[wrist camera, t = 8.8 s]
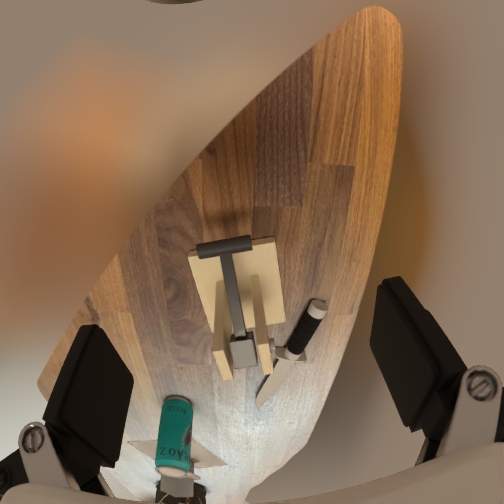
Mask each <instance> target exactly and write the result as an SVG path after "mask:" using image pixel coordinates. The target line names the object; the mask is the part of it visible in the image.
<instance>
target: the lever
mask: <svg viewBox="0 0 504 504" xmlns="http://www.w3.org/2000/svg"><path fill="white" fill-rule="evenodd" d="M196 249H197V255H198V258H199V259H206V258H212V257H217V256H220V262H221V267H222V273H223V278H224V283H225V289H226V294H227V299H228V305H229V310H230V315H231V320H232V325H233V330H234V334H232V335H231V337H230V341H229V345H230V350H231V355H232V359H233V364H234V368H235V369H237V368H244V367H251V366H257V351H256V346H255V341H254V335H253V331H251V332H247V331H246V326H245V321H244V316H243V310H242V305H241V299H240V294H239V289H238V283H237V278H236V272H235V267H234V261H233V255H232V254H234V253H240V252H246V251H252V250H253V248H252V242H251V237H250V235H246V236H240V237H234V238H229V239H223V240H218V241H212V242H207V243H201V244H197V246H196Z"/></svg>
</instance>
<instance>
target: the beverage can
mask: <svg viewBox="0 0 504 504" xmlns="http://www.w3.org/2000/svg"><path fill="white" fill-rule="evenodd" d="M192 420H193V410H192V407H191V404H190V402H189V401H188V400H187V399H185V398H182V397H177V396H174V397H170V398H168V399H167V400H166V401H165V403H164V404H163V406H162V411H161V418H160V425H159V433H158V440H157V448H156V456H155V465H156V472H157V473H159V474H161V475H164V476H167V477H173V478H183V477H186V476H187V475H188V473H187V472H188V470H189V469H190V455H191V437H192Z"/></svg>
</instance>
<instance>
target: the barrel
mask: <svg viewBox="0 0 504 504" xmlns="http://www.w3.org/2000/svg"><path fill="white" fill-rule="evenodd" d="M160 485H161V481H160V482H159V484H158V485H157V486H156V488H157V491H156V499H155V503H157V504H206V498H205V496H206V493H207V492H206V490H204V488H203V486H201V485H199V484H196V483H194V485H193V497H174V496H172V495H170V494H168V493H166V492H163V491H161V490H160Z"/></svg>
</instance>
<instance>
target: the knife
mask: <svg viewBox="0 0 504 504" xmlns="http://www.w3.org/2000/svg"><path fill="white" fill-rule="evenodd" d="M327 310H328V306H327V305H326V304H325V303H324V302H322V301H320V300H316V299H315V300H312V302H311V304H310V305H309V307H308V309H307V311H306V313H305V315H304V317H303V318H302V320H301V322H300V324H299V326H298V328H297V329H296V331H295V333H294V335H293V336H292V338H291V340H290V342H289V343H288V345H287V347H286V348H283V347H277V348H275V350H276V352H275V355H276V358H278V362H277V364H276V366H275V367H274V373H272V374H270V376H269V377H268V379H267V381H266V382H265V384H264V385H263V387H262V389H261V390H260V392H259V394H258V396H257V398H256V405H257V409H258V410H259V409H260V408H261V407H262V405H263V404H264V403H265V402H266V401H267V400H268V399H269V398H270V397H271V396H272V395H273V394H274V393H276V392H277V391H278V389H279V387H280V386H281V384H282V383H283V381H284V380H285V378H286V377H287V375H288V373H289V372H290V370H291V369H292V367H293V366H294V364H295V363H296V362H297V363H304V362H306V361H307V357H306V354H305V352H303V350H304V349H305V347H306V346H307V344H308V342H309V341H310V339H311V337H312V336H313V334H314V332H315V331H316V329H317V327H318V326H319V324H320V322H321V321H322V319H323V317H324V316H325V314H326V312H327Z"/></svg>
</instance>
